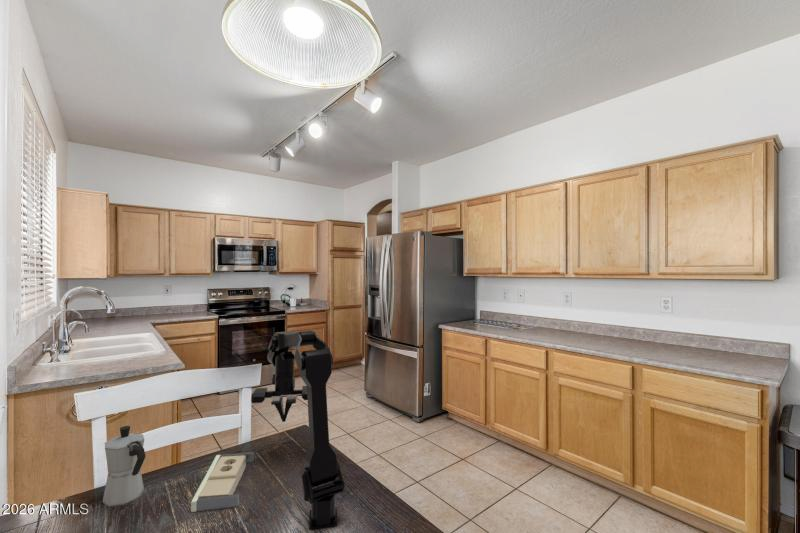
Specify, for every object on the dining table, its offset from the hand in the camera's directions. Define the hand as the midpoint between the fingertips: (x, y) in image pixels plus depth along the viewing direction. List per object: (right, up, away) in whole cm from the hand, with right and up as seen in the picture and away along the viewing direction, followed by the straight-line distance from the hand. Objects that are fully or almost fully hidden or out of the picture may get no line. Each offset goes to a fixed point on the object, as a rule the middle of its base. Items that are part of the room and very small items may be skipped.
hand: (283, 421), depth 115 cm
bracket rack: (-12, -12, -13) cm, 21 cm away
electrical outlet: (-12, -12, -14) cm, 22 cm away
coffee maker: (-35, -12, -20) cm, 42 cm away
